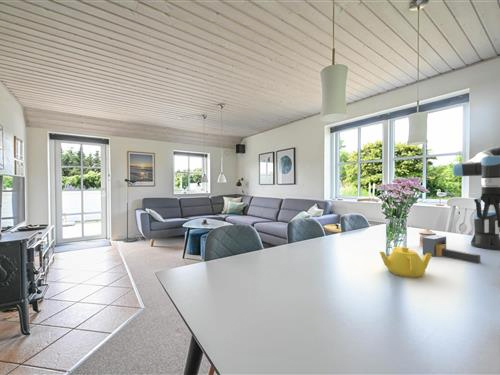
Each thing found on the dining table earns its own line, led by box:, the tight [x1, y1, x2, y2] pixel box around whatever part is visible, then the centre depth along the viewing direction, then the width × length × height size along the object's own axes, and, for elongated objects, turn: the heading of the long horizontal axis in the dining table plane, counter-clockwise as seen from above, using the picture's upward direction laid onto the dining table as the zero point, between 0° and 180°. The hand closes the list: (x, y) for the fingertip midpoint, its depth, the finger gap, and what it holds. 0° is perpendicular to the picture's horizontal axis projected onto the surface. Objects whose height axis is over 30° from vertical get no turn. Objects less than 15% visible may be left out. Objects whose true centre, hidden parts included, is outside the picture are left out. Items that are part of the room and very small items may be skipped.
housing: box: [422, 234, 447, 257], centre depth 146 cm, size 14×6×10 cm, turn 119°
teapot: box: [379, 246, 432, 278], centre depth 116 cm, size 17×17×12 cm
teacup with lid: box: [418, 228, 437, 247], centre depth 163 cm, size 12×9×12 cm
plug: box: [436, 243, 481, 264], centre depth 138 cm, size 6×22×6 cm, turn 29°
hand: (491, 232), depth 124 cm, fingers open, 3 cm apart
